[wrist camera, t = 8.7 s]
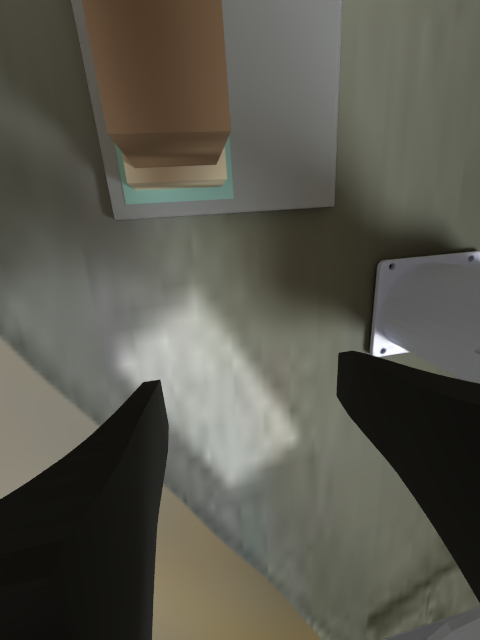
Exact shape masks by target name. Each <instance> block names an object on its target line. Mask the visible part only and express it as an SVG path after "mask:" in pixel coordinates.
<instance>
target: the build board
mask: <svg viewBox="0 0 480 640" xmlns="http://www.w3.org/2000/svg"><path fill="white" fill-rule="evenodd" d="M71 3H72V8H73V13H74V18H75V23H76V28H77V33H78V38H79V43H80V48H81V53H82V58H83V63H84V68H85V73H86V78H87V83H88V88H89V93H90V98H91V103H92V108H93V113H94V118H95V123H96V128H97V133H98V138H99V143H100V148H101V153H102V158H103V163H104V169H105V174H106V179H107V184H108V189H109V194H110V199H111V204H112V209H113V214H114V219H115V220H133V219H149V218H165V217H180V216H196V215H212V214H228V213H244V212H260V211H276V210H291V209H307V208H323V207H332V206H334V204H335V177H336V150H337V123H338V97H339V70H340V43H341V17H342V0H222V11H223V25H224V39H225V53H226V66H227V80H228V94H229V108H230V121H231V133H230V135H229V137H228V140H227V142H226V144H225V156H226V170H227V180H226V181H225V183H224V184H223V185H222V187H202V188H181V189H160V190H139V191H136V190H135V189H133V188H132V187H131V186H130V185H129V184H127V179H126V173H125V168H124V162H123V157H122V151H121V150H120V149H119V148H118V146H117V145H116V144H115V143H114V141H113V140H112V139H111V138H110V136H109V135H108V133H107V128H106V123H105V117H104V112H103V107H102V102H101V97H100V92H99V87H98V82H97V77H96V71H95V66H94V61H93V56H92V51H91V46H90V41H89V36H88V31H87V25H86V20H85V15H84V10H83V5H82V0H71Z"/></svg>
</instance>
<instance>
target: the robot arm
mask: <svg viewBox="0 0 480 640" xmlns="http://www.w3.org/2000/svg"><path fill="white" fill-rule="evenodd" d="M468 258H469V260H468ZM390 264H391V265H392V266H391V268H390V269H389V265H390ZM381 349H383V350H382V351H381ZM380 351H381V352H380ZM406 352H411V353H412V354H414V355H416V356H418V357H420V358H422V359H424V360H426V361H427V362H429V363H431V364H433V365H435V366H437V367H439V368H440V369H442V370H444V371H446V372H448V373H450V374H452V375H453V376H455V377H457V378H459V379H455V378H450V377H446V376H442V375H438V374H434V373H430V372H426V371H423V370H419V369H415V368H412V367H408V366H405V365H402V364H398V363H395V362H392V361H389V360H385V359H382V358H379V357H381V356H387V355H393V354H400V353H406ZM370 354H371V355H369V354H365V353H361V352H356V351H348V352H341V353H339V356H338V376H337V397H338V399H339V401H340V402H341V404H342V406H343V407H344V409H345V410H346V412H347V413H348V415H349V416H350V417H351V419H352V420H353V421H354V422H355V423H356V425H357V426H358V427H359V428H360V429H361V431H362V432H363V433H364V434H365V435H366V436H367V438H368V439H369V440H370V441H371V442H372V443H373V444H374V446H375V447H376V448H377V449H378V450H379V451H380V453H381V454H382V455H383V456H384V457H385V458H386V460H387V461H388V462H389V463H390V465H391V466H392V467H393V468H394V470H395V471H396V472H397V473H398V475H399V476H400V478H401V479H402V481H403V482H404V483H405V485H406V486H407V488H408V489H409V490H410V492H411V493H412V495H413V496H414V498H415V499H416V501H417V502H418V504H419V505H420V507H421V508H422V510H423V511H424V513H425V514H426V516H427V517H428V519H429V520H430V522H431V523H432V525H433V526H434V528H435V529H436V531H437V533H438V534H439V536H440V537H441V539H442V541H443V542H444V544H445V545H446V547H447V549H448V550H449V552H450V553H451V555H452V557H453V558H454V560H455V561H456V563H457V565H458V566H459V568H460V570H461V571H462V573H463V575H464V577H465V578H466V580H467V582H468V584H469V585H470V587H471V589H472V590H473V592H474V594H475V596H476V597H477V599H478V601H479V602H480V251H472V252H462V253H452V254H441V255H431V256H421V257H411V258H400V259H390V260H382V261H381V262H379V264H378V266H377V275H376V286H375V297H374V308H373V320H372V331H371V342H370ZM460 379H461V380H460ZM168 429H169V425H168V419H167V414H166V408H165V403H164V397H163V392H162V386H161V381H160V380H155V381H148V382H143V383H142V384H141V385H140V386H139V387H138V388H137V390H136V391H135V392H134V393H133V394H132V395H131V396H130V397H129V398H128V399H127V400H126V401H125V403H124V404H123V405H122V406H121V407H120V408H119V409H118V410H117V411H116V412H115V413H114V414H113V415H112V416H111V417H110V418H109V419H108V420H107V421H106V422H105V423H103V424H102V425H101V426H100V427H99V428H98V429H97V430H96V431H95V432H94V433H93V434H92V435H90V436H89V437H88V438H87V439H86V440H85V441H83V442H82V443H81V444H80V445H79V446H77V447H76V448H75V449H73V450H72V451H71V452H70V453H69V454H67V455H66V456H65V457H63V458H62V459H60V460H59V461H58V462H56V463H55V464H53V465H52V466H50V467H49V468H48V469H46V470H45V471H43V472H42V473H41V474H39V475H37V476H36V477H35V478H33V479H32V480H30V481H29V482H27V483H26V484H24V485H23V486H21V487H19V488H18V489H16V490H15V491H13V492H11V493H10V494H8V495H7V496H5V497H3V498H2V499H0V640H152V619H153V594H154V573H155V553H156V534H157V523H158V514H159V507H160V500H161V494H162V487H163V480H164V474H165V467H166V460H167V453H168ZM381 640H480V606H478V607H476V608H474V609H472V610H469V611H466V612H463V613H460V614H457V615H454V616H451V617H448V618H445V619H442V620H439V621H436V622H433V623H430V624H427V625H424V626H421V627H418V628H415V629H412V630H409V631H406V632H403V633H399V634H396V635H393V636H390V637H387V638H384V639H381Z"/></svg>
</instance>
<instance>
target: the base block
mask: <svg viewBox="0 0 480 640" xmlns="http://www.w3.org/2000/svg"><path fill="white" fill-rule="evenodd" d="M122 157H123V162H124V168H125V173H126V179H127V184H129V185H130V186H131V187H132V188H133V189H135V190H136V191H139V190H160V189H181V188H202V187H222V185H223V184H224V183H225V181H226V180H227V170H226V156H225V146H224V149H223V151H222V153H221V155H220V158H219V160H218V162H217V165H200V166H177V167H154V168H135V167H134V166H133V165H132V164H131V162H130V161H129V160H128V159H127V157H126V156H125V155H124V154H123V152H122Z"/></svg>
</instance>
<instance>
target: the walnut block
mask: <svg viewBox="0 0 480 640" xmlns="http://www.w3.org/2000/svg"><path fill="white" fill-rule="evenodd" d="M82 5H83V10H84V15H85V20H86V25H87V31H88V36H89V41H90V46H91V51H92V56H93V61H94V66H95V71H96V77H97V82H98V87H99V92H100V97H101V102H102V107H103V112H104V117H105V123H106V128H107V133H108V135H109V136H110V138H111V139H112V140H113V141H114V143H115V144H116V145H117V146H118V148H119V149H120V150H121V151H122V152H123V154H124V155H125V156H126V157H127V159H128V160H129V161H130V162H131V164H132V165H133V166H134V167H135V168H154V167H177V166H200V165H217V162H218V160H219V158H220V155H221V153H222V151H223V149H224V146H225V144H226V142H227V140H228V137H229V135H230V133H231V121H230V108H229V94H228V80H227V66H226V53H225V39H224V25H223V11H222V0H82Z"/></svg>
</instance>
